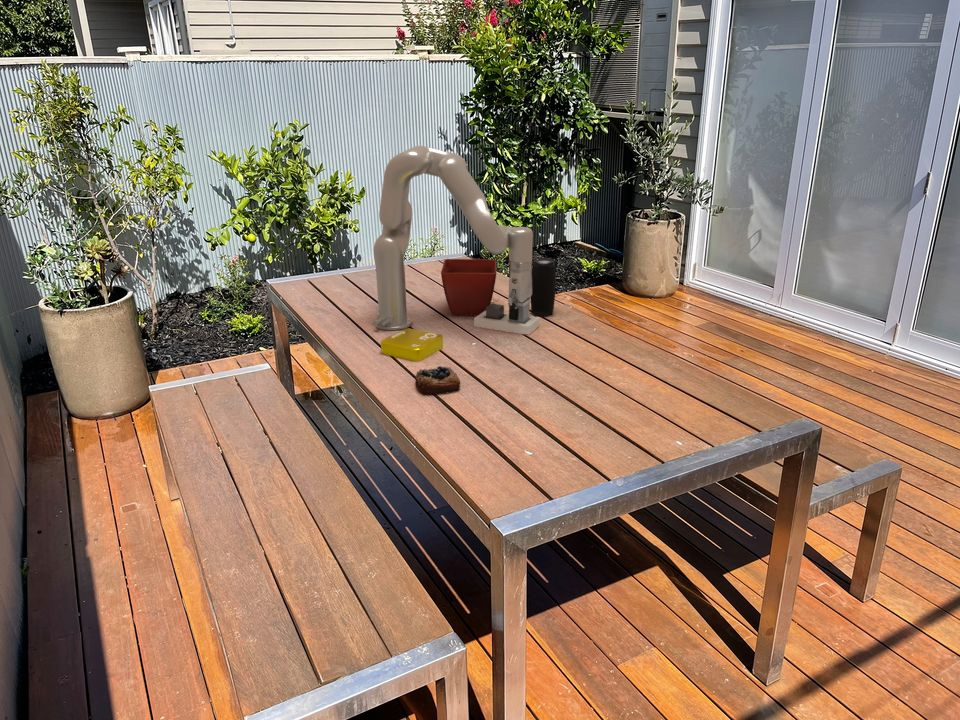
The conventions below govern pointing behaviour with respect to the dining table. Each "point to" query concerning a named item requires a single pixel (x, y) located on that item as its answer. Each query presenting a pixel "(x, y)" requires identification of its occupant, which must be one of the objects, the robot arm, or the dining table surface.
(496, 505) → the dining table surface
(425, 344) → the element tile
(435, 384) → the pastry
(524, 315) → the plug
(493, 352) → the dining table surface
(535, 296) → the portable speaker
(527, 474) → the dining table surface
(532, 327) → the power strip
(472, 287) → the plant pot
